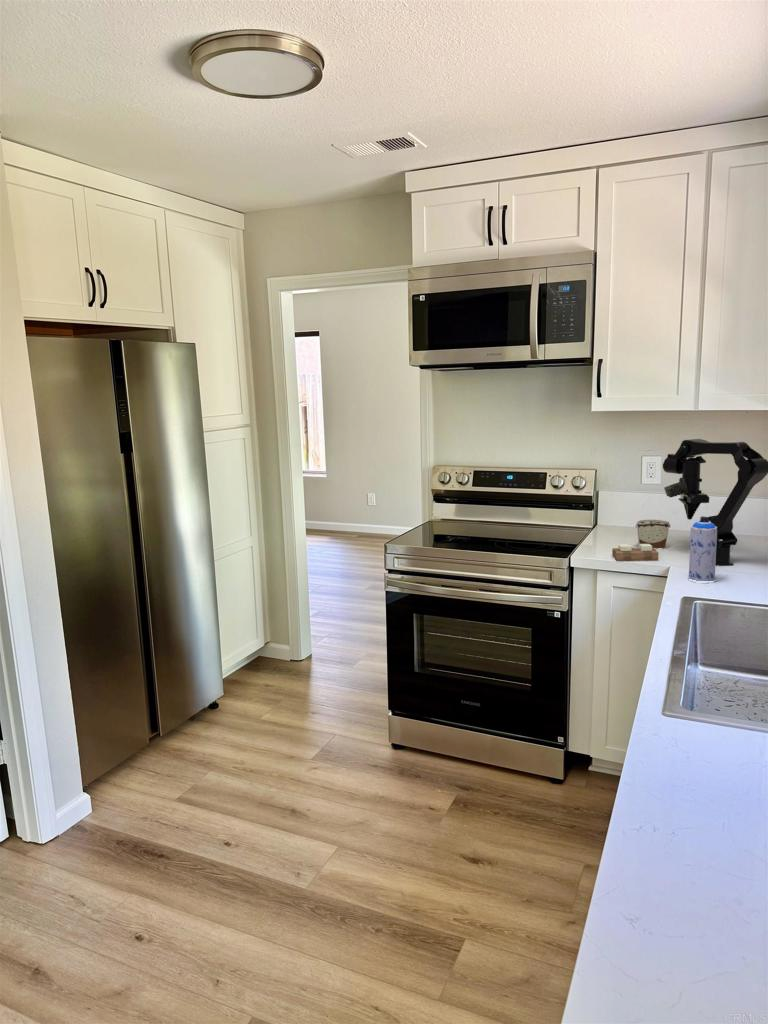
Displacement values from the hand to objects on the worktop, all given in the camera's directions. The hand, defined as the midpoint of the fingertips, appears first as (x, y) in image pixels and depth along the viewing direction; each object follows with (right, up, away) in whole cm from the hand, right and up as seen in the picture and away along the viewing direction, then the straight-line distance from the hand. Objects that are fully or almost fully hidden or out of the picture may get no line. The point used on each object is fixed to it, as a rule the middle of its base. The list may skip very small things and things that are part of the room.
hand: (689, 519), depth 246 cm
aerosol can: (-9, -19, -28) cm, 35 cm away
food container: (-8, -11, +16) cm, 21 cm away
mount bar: (-19, -14, 0) cm, 24 cm away
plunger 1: (-23, -14, +1) cm, 26 cm away
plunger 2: (-16, -14, 0) cm, 21 cm away
